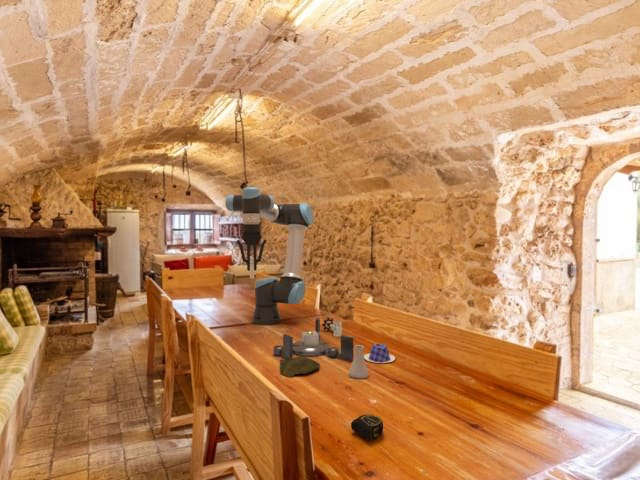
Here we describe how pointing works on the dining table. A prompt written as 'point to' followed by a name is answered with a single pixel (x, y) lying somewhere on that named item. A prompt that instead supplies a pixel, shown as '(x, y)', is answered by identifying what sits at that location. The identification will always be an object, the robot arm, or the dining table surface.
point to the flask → (358, 364)
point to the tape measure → (368, 426)
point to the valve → (333, 327)
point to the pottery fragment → (297, 366)
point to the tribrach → (322, 345)
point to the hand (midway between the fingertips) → (252, 278)
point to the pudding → (379, 354)
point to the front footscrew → (285, 348)
